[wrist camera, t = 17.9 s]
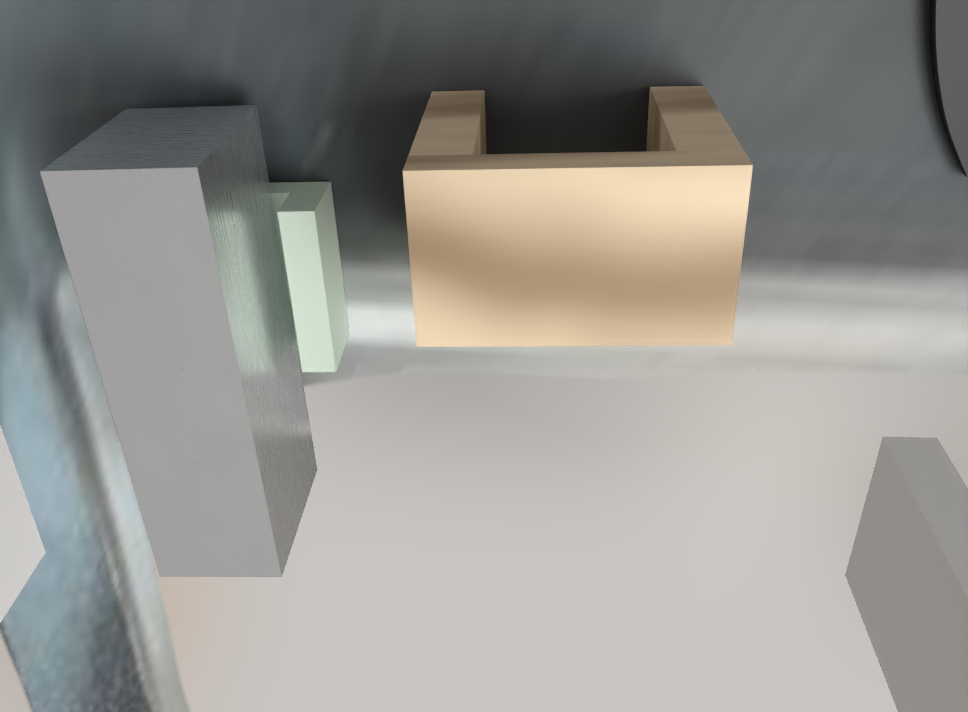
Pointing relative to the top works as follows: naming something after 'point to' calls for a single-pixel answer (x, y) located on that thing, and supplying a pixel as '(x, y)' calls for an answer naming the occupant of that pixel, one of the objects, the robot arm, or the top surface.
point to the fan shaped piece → (951, 70)
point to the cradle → (312, 271)
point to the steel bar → (191, 331)
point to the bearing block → (576, 232)
